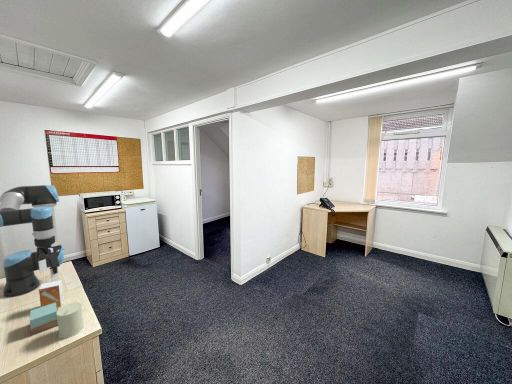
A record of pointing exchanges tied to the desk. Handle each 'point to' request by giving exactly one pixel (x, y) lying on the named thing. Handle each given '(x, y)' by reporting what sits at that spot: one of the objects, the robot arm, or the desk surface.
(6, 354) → the desk surface
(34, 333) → the bottom slab
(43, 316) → the top slab
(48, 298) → the small box
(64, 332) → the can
